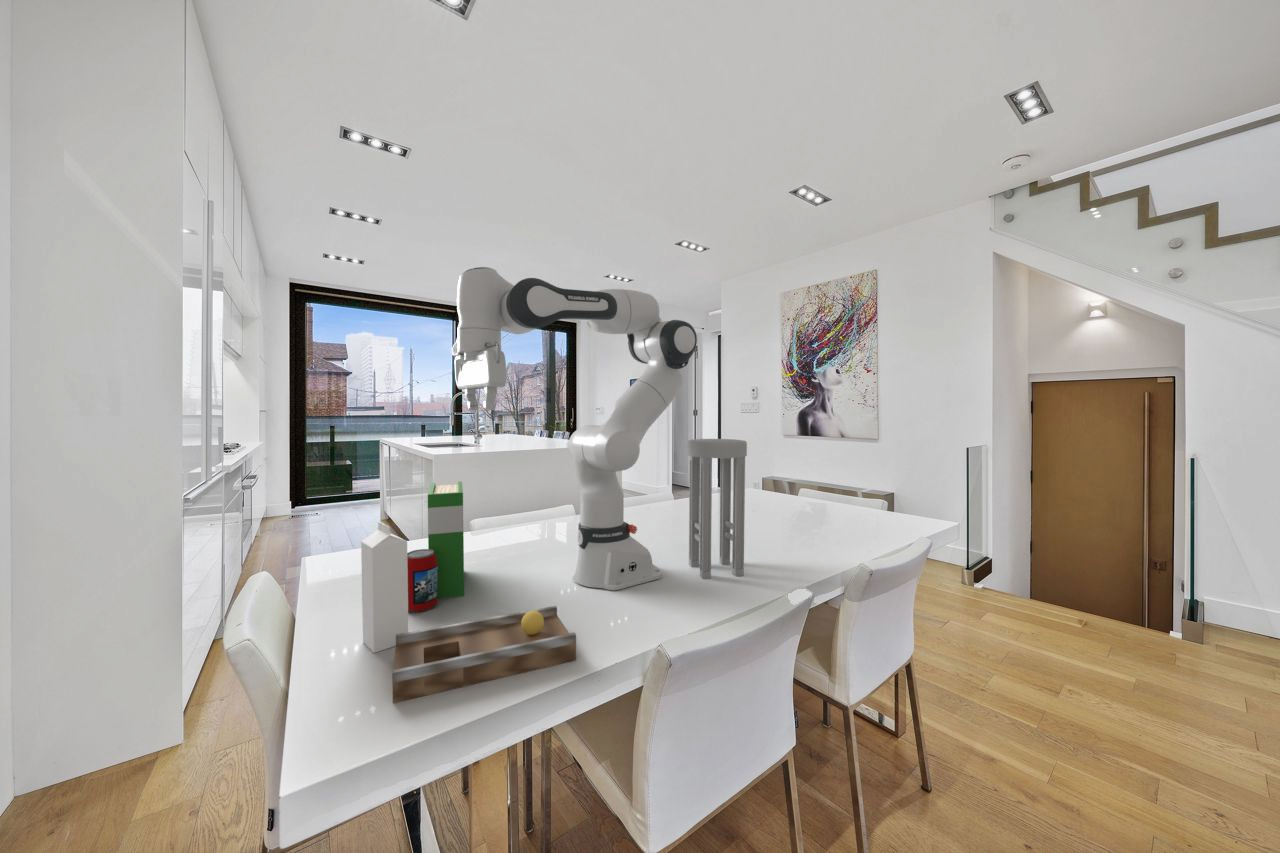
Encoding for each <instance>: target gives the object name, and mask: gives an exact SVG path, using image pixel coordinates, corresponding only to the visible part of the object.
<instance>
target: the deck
mask: <svg viewBox="0 0 1280 853" xmlns="http://www.w3.org/2000/svg"><path fill="white" fill-rule="evenodd" d="M530 611H538V612H539V613H541V614H542V616H543V618H544V626H543V628H542V630H541V631H540V632H539V633H537V634H535V635H529V634H526V633H525V632H524V631H523V629H522V627H521V621H522V618H523V616H524V615H525V614H526V613H528V612H530ZM393 661H394V663H393V670H392V672H391V673H392V674H391V676H392V677H391V678H392V680H391V683H392V704H395V703H398V702H399V703H400V702H404V701H408V700H413V699H415V698H416V699H417V698H420V697H424V696H427V695H428V696H429V695H432V694H437V693H442V692H446V691H451V690H454V689H458V688H463V687H467V686H471V685H475V684H481V683H484V682H488V681H492V680H497V679H501V678H506V677H510V676H514V675H517V674H523V673H527V672H531V671H535V670H539V669H544V668H548V667H553V666H557V665H561V664H565V663H569V662H574V661H577V634H576V632H575V631H574V632H569V631H568V629H567V627H566V626H565V625H564V623H563V621H562V620H561V619H560V617H559V616H558V607H557V605H553V606H547V607H542V608H535V609H532V610H531V609H529V610H524V611H519V612H515V613H508V614H501V615H497V616H491V617H486V618H480V619H475V620H469V621H463V622H458V623H453V624H447V625H441V626H436V627H435V626H434V627H432V628H431V627H430V628H425V629H420V630H413V631H408V632H407V633H401V634H396V646H395V652H394V660H393Z"/></svg>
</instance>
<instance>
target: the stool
mask: <svg viewBox="0 0 1280 853" xmlns="http://www.w3.org/2000/svg"><path fill="white" fill-rule="evenodd" d="M685 445H686V446H685V447H686V449H685V450H686V453H685V455H686V456H689V482H688V483H689V484H688V487H689V490H688V491H689V494H688V495H689V496H688V497H689V498H688V499H689V506H688V508H689V509H688V510H689V511H688V514H689V515H688V516H689V517H688V566H690V567H691V568H695V567H699V577H700V578H701V579H702V580H705V579H712V508H713V507H712V505H713V504H712V498H713V497H712V496H713V495H712V494H713V492H712V491H713V490H712V488H713V482H712V481H713V459H720V467H719V468H720V470H719V471H720V474H719V476H720V478H719V480H720V481H719V485H720V487H719V489H720V490H719V492H720V493H719V558H718V559H719V562H718V563H719V564H721V565H722V566H723V565H724V566H726V565H731V564H732V565H731V567H732V568H731V570H732V571H731V574H732V575H733V576H734V577H743V576H745V573H744V572H745V571H744V570H745V511H746V510H745V502H746V500H745V496H746V488H745V487H746V457H747V456H748V442H747V441H746V440H741V439H731V438H694V439H689V440H687V441H686V444H685ZM732 459H733V461H732ZM732 462H733V464H732ZM732 466H733V468H732ZM732 470H733V471H732ZM732 474H733V475H732ZM732 476H733V478H732ZM732 479H733V480H732ZM732 481H733V482H732ZM731 495H732V496H731ZM731 498H732V499H731ZM731 501H732V502H731ZM731 503H732V504H731ZM731 506H732V508H731ZM731 510H732V511H731ZM731 512H732V513H731ZM731 514H732V515H731ZM731 518H732V521H731ZM731 531H732V533H731ZM731 542H732V543H731ZM731 544H732V551H731ZM731 552H732V557H731ZM731 558H732V560H731ZM731 562H732V563H731Z"/></svg>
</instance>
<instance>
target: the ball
mask: <svg viewBox="0 0 1280 853" xmlns="http://www.w3.org/2000/svg"><path fill="white" fill-rule="evenodd" d="M529 611H530V610H529ZM543 626H544V618H543V616H542V614H541V613H539V612H538V611H530V612H528V613H526V614H525V615H524V616H523V618H522V621H521V627H522V629H523V631H524V632H525V633H526V634H529V635H535V634H537V633H539V632H540V631H541V630H542V628H543Z"/></svg>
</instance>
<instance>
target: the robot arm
mask: <svg viewBox="0 0 1280 853" xmlns="http://www.w3.org/2000/svg"><path fill="white" fill-rule="evenodd" d="M458 278H459V279H458V283H457V294H456V297H457V298H456V306H457V307H456V310H457V314H458V321H459V322H458V325H457V337H456V341H455V343H454V344H453V345H452V349H451V352H452V353H451V354H452V356H454V357H455V359H454V373H455V374H454V375H455V383H456V386H457V389H459V390H463V391H464V396H465V398H466V401H467V402H466V403H467V410H469V411H476V410H478V407H479V406H478V405H479V403H478V401H477V396H476V395H477V390H483V389H484V393H485V396H484V401H483V402H482V404H483V407H482V408H483V410H485V411H493V410H495V401H496V398H497V394H498V388H505V387H506V386H507V385H506V384H507V380H508V379H507V378H508V376H507V363H506V361H507V360H506V356H505V353H504V352H503V351H502V332H505V333H510V334H513V335H524V334H526V333H529V332H531V331H534V330H537V329H541V328H544V327H547V326H549V325H552V323H555V322H556V321H559V320H579V321H588V323H589V325H590V328H592V329H593V331H596V332H597V333H603V334H609V335H624V334H625V335H627V336H626V337H627V344H628V345H627V346H628V350H629V352H630V353H629V354H630V355H631V357H632V358H633V360H636V361H637V362H639V363H641V364H646V368H645V369H644V371H643V373H642V374H641V376H639V377H638V378H637V379H636V380H635V381H634V382H633V383H632V384H631V385H630V386H629V387H628V388H627V389H626V390H625V391H624V393H623V394H621V395H620V397H619V398H618V399H617V400H616V402H615V403H614V409H613V411H612V413H611V415H609V418H608V419H607V420H606V421H605V422H604V423H603V424H601V425H598V424H597V425H595V424H590V425H589V424H588V425H585V426H581V427H580V428H578V429H576V430H575V431H574V432H572V434H571V435H570V437H569V439H568V452H569V453H570V456H571V457H572V460H573V463H574V468H575V469H574V470H575V474H576V479H577V484H578V485H577V486H578V489H579V490H578V491H579V523H578V530H577V542H578V548H579V549H578V556H577V557H578V558H577V564H576V566H575V571H574V576H573V580H574V582H575V583H577V584H579V585H581V586H583V587H588V588H594V589H595V588H596V589H597V588H598V589H605V590H609V591H618V590H622V589H626V588H630V587H634V586H637V585H641V584H644V583H648V582H652V581H655V580H656V581H657V580H659V579H662V571H661V569H660V568H659V567H658V566H656V565H655V564H653V559H652V554H651V552H650V551H649V549H648V548H647V547H646V546H644V545H643V544H642V543H640V542H639V541H637V540H636V539H635V538H634V537H632V536H631V534H633V535H635V534H637V532H638V527H637V526H636V525H634V524H630V523H628V522H625V521H624V507H625V506H624V502H625V501H624V500H625V499H624V491H623V489H622V487H621V485H620V483H619V482H620V481H619V480H618V478H617V473H616V472H621V471H626V470H629V469H630V468H632V467H633V466H634V465H635V464H637V463H636V462H637V461H638V459H639V456H640V454H641V450H640V449H641V448H640V444H641V443H642V441H643V439H644V436H645V435H646V434H647V432H648V431H649V428H651V427H652V425H653V424H654V423H655V422H656V420H658V418H659V417H660V416H661V415H662V414H663V412H665V411H666V409H667V408H668V407H669V406H670V405H671V403H672V402H673V400H674V399H675V398H676V397H677V395H678V393H679V392H680V390H681V388H682V386H683V382H684V379H683V375H682V372H681V371H680V369H683V368H685V367H686V366H687V365H688V364H689V361H690V359H691V357H692V356H693V354H694V353H695V350H696V348H697V344H698V343H697V342H698V337H697V332H696V330H695V328H694V326H693V325H692V324H691V323H689V322H687V321H684V320H681V319H680V320H679V319H671V320H662V318H661V317H660V305H659V302H658V301H657V299H656V298H655V296H653V295H652V294H650V293H647V292H643V291H639V290H632V289H621V288H607V289H599V290H596V291H595V290H593V291H592V290H583V289H572V288H571V289H568V288H562V287H558V286H556V285H553V284H551V283H549V282H547V281H546V280H543V279H540V278H536V277H527V278H524V279H521V280H519V281H518V282H517V283H515V285H514V284H512V283H511V282H510V281H508V280H506V279H505V278H504V277H503V276H501V275H500V274H499V273H498V272H497V270H496V269H495V268H491V267H486V266H485V267H484V266H483V267H482V266H481V267H474V268H473V267H472V268H469V269H467V270H465V271H464V272H463V273H462V274H461V275H459V277H458Z"/></svg>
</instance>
